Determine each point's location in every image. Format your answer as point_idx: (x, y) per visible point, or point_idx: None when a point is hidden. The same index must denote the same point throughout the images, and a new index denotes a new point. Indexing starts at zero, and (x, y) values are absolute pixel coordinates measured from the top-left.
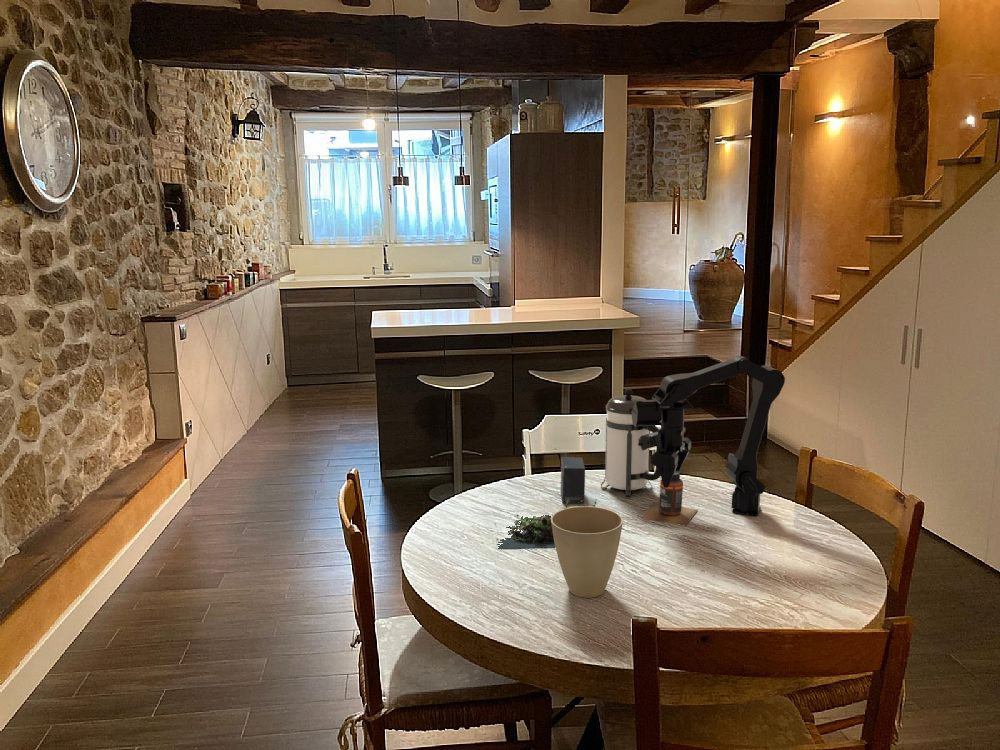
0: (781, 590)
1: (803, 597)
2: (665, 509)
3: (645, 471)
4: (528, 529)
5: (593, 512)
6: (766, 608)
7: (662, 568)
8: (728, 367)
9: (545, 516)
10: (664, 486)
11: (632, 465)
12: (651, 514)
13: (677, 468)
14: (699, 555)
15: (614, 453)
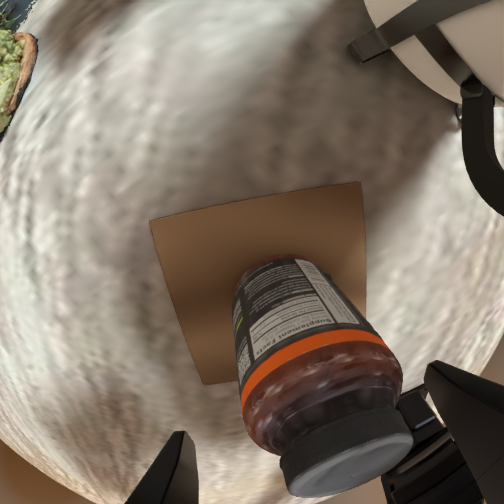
0: (107, 491)
1: (115, 499)
2: (232, 318)
3: (500, 96)
4: None
5: None
6: (64, 477)
7: (3, 390)
8: None
9: (11, 6)
10: (173, 438)
11: (479, 16)
12: (212, 243)
13: (455, 421)
14: (84, 433)
15: None
